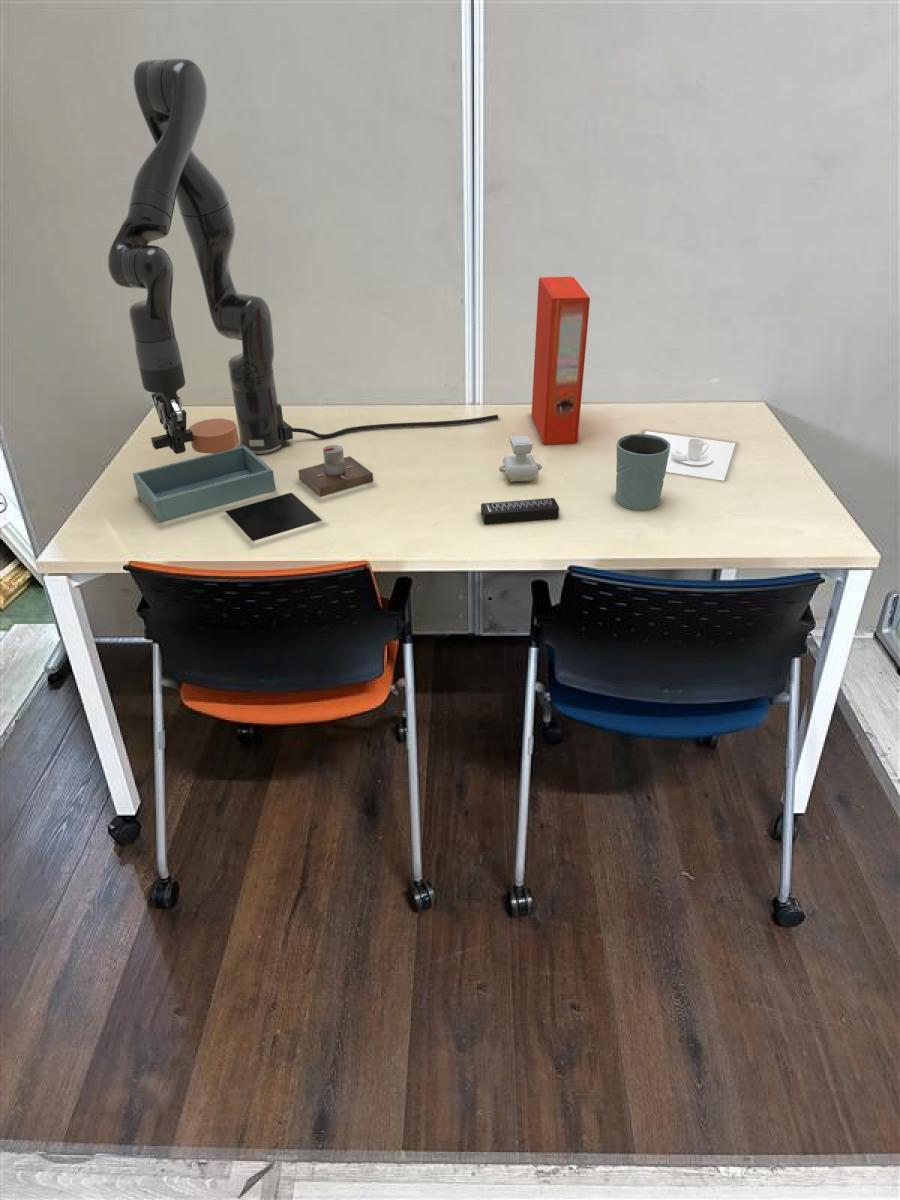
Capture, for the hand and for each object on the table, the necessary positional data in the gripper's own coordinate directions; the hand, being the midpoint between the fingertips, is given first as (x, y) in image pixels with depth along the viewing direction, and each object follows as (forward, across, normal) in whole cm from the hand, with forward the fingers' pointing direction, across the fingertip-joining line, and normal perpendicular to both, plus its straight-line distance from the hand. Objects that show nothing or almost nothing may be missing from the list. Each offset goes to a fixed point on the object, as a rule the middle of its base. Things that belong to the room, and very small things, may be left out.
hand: (177, 449), depth 165 cm
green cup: (+11, -50, -74) cm, 90 cm away
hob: (+11, -17, -11) cm, 23 cm away
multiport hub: (+11, -42, -51) cm, 67 cm away
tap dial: (+8, -10, -28) cm, 31 cm away
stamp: (+11, -29, -61) cm, 69 cm away
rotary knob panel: (+11, -10, -28) cm, 32 cm away
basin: (+11, 0, -4) cm, 12 cm away
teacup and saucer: (+11, -40, -97) cm, 106 cm away
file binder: (+11, -13, -83) cm, 85 cm away
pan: (+1, 0, -4) cm, 4 cm away
